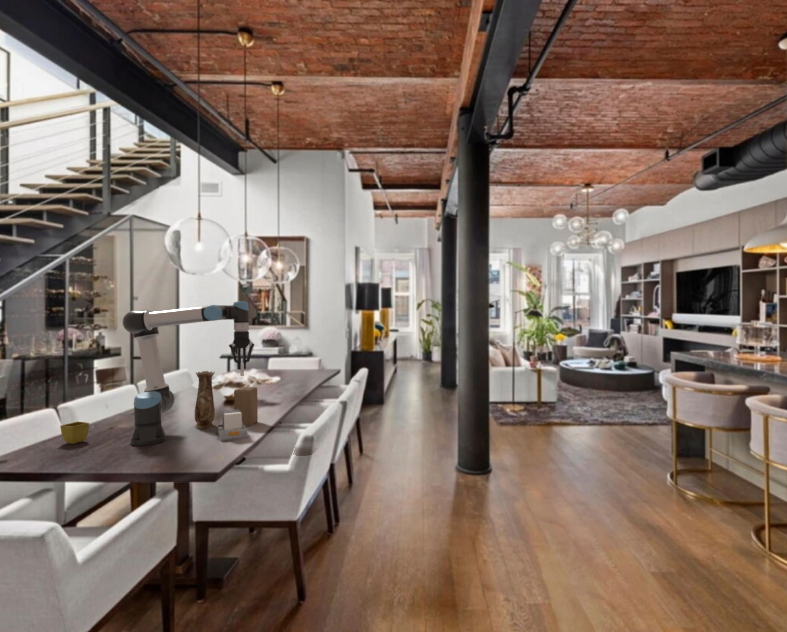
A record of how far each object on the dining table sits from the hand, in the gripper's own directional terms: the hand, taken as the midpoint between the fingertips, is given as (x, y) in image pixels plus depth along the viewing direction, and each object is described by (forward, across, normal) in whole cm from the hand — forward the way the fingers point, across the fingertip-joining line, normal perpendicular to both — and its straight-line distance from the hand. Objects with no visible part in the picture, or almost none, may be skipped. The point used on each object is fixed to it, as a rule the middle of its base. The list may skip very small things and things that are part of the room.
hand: (242, 375), depth 241 cm
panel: (+28, -6, -10) cm, 31 cm away
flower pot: (+30, -76, +17) cm, 83 cm away
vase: (+30, -17, +20) cm, 40 cm away
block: (+30, +4, +15) cm, 33 cm away
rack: (+29, -6, -6) cm, 31 cm away
